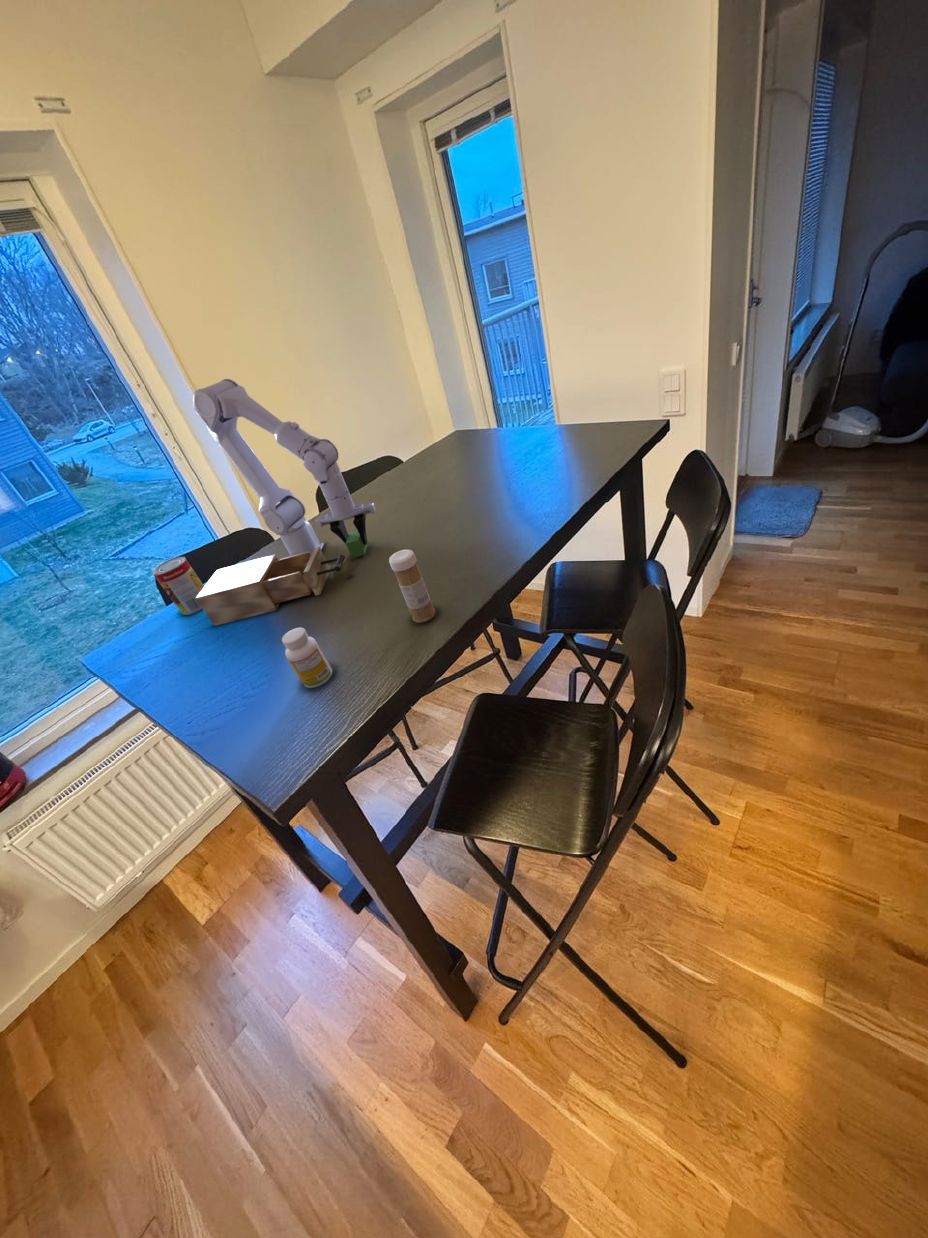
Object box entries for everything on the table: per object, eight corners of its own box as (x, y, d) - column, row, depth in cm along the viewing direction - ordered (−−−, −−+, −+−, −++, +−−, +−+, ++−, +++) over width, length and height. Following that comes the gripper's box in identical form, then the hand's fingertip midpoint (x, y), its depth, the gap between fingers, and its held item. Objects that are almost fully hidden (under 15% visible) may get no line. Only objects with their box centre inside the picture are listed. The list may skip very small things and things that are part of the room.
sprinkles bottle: (430, 606, 94) (408, 545, 86) (439, 616, 90) (417, 553, 82) (409, 616, 93) (384, 556, 85) (417, 627, 89) (393, 565, 81)
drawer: (352, 563, 117) (342, 540, 113) (344, 588, 107) (333, 564, 104) (275, 583, 119) (263, 561, 116) (261, 609, 110) (247, 587, 106)
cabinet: (290, 581, 120) (275, 553, 115) (276, 610, 109) (259, 581, 105) (234, 596, 122) (216, 569, 117) (214, 626, 111) (194, 598, 106)
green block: (356, 545, 126) (349, 531, 123) (368, 542, 125) (362, 527, 123) (352, 558, 120) (345, 543, 117) (365, 554, 119) (358, 539, 117)
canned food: (206, 593, 127) (179, 554, 121) (216, 600, 122) (189, 560, 115) (177, 610, 124) (148, 570, 117) (186, 618, 118) (156, 577, 112)
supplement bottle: (306, 671, 87) (281, 629, 81) (335, 663, 86) (311, 621, 81) (301, 692, 82) (273, 649, 77) (330, 684, 82) (305, 640, 77)
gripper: (368, 480, 116) (387, 530, 124) (311, 496, 118) (334, 544, 126) (364, 491, 111) (384, 543, 118) (305, 507, 112) (329, 557, 120)
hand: (358, 544), depth 122 cm, fingers closed on green block, 3 cm apart
